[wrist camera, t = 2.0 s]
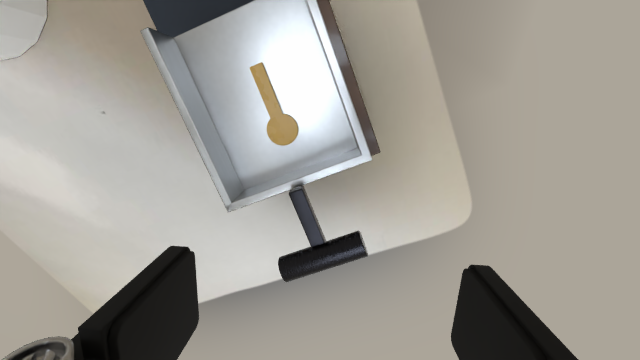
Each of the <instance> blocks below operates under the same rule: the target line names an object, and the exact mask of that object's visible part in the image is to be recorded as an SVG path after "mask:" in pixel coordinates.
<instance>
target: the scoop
mask: <svg viewBox="0 0 640 360" xmlns="http://www.w3.org/2000/svg"><path fill="white" fill-rule="evenodd" d="M141 34H142V36H143V38H144V40H145V42H146V44H147V46H148V48H149V50H150V52H151V54H152V56H153V58H154V60H155V63H156V65H157V67H158V69H159V71H160V73H161V75H162V77H163V79H164V81H165V83H166V85H167V87H168V89H169V91H170V93H171V96H172V98H173V100H174V102H175V104H176V106H177V108H178V110H179V112H180V114H181V116H182V118H183V120H184V122H185V124H186V127H187V129H188V131H189V133H190V135H191V137H192V139H193V141H194V143H195V145H196V147H197V149H198V151H199V153H200V155H201V158H202V160H203V162H204V164H205V166H206V168H207V170H208V172H209V174H210V176H211V178H212V180H213V182H214V184H215V186H216V188H217V191H218V193H219V195H220V197H221V199H222V201H223V203H224V205H225V207H226V209H227V211H228V212H231V211H233V210H236V209H239V208H242V207H244V206H247V205H250V204H253V203H255V202H258V201H261V200H264V199H266V198H269V197H272V196H275V195H277V194H280V193H283V192H286V191H288V190H290V192H289V196H290V198H291V200H292V203H293V205H294V207H295V210H296V212H297V214H298V217H299V219H300V221H301V224H302V226H303V228H304V231H305V233H306V235H307V238H308V240H309V243H310V245H311V247H308V248H305V249H302V250H299V251H296V252H293V253H290V254H287V255H284V256H281V257H280V258H279V260H278V265H279V270H280V274H281V276H282V278H283V280H284V281H285V282H288V281H292V280H295V279H298V278H301V277H304V276H307V275H310V274H314V273H317V272H320V271H323V270H326V269H329V268H332V267H335V266H338V265H342V264H345V263H348V262H351V261H354V260H357V259H360V258H363V257H367V256H368V253H367V250H366V246H365V243H364V241H363V238H362V235H361V233H360V231H356V232H353V233H350V234H347V235H344V236H341V237H338V238H335V239H332V240H329V241H326V240H325V237H324V235H323V232H322V230H321V227H320V225H319V223H318V220H317V218H316V215H315V213H314V210H313V208H312V206H311V203H310V201H309V198H308V196H307V193H306V191H305V189H304V186H302V185H305V184H308V183H310V182H313V181H316V180H319V179H321V178H324V177H327V176H330V175H332V174H335V173H338V172H341V171H343V170H346V169H349V168H352V167H354V166H357V165H360V164H363V163H365V162H368V161H371V160H372V157H371V154H370V151H369V148H368V145H367V142H366V140H365V137H364V134H363V131H362V128H361V125H360V122H359V119H358V117H357V114H356V111H355V108H354V105H353V102H352V99H351V97H350V94H349V91H348V88H347V85H346V82H345V79H344V77H343V74H342V71H341V68H340V65H339V62H338V59H337V57H336V54H335V51H334V48H333V45H332V42H331V39H330V36H329V34H328V31H327V28H326V25H325V22H324V19H323V16H322V14H321V11H320V8H319V5H318V2H317V0H254V1H252V2H250V3H248V4H246V5H243V6H241V7H239V8H237V9H235V10H233V11H230V12H228V13H226V14H224V15H222V16H219V17H217V18H215V19H213V20H211V21H209V22H206V23H204V24H202V25H200V26H198V27H196V28H193V29H191V30H189V31H187V32H185V33H183V34H180V35H178V36H176V37H174V38H173V37H171V36H169V35H166V34H164V33H161V32H158V31H156V30H153V29H151V28H148V27H147V28H145V29H143V30H141ZM261 62H262V63H263V64H264V67H265V69H266V72H267V74H268V77H269V79H270V82H271V84H272V86H273V89H274V91H275V94H276V96H277V99H278V101H279V104H280V106H281V109H282V111H283V114H288V115H290V116H292V117H293V118H294V119H295V120H296V122H297V124H298V135H297V137H296V139H295V140H294V141H293V142H292V143H290V144H288V145H285V146H281V145H277V144H275V143H273V142H272V141H271V140H270V138H269V137H268V135H267V124H268V121H269V120H270V116H269V114H268V111H267V109H266V107H265V104H264V102H263V99H262V97H261V95H260V92H259V90H258V87H257V85H256V83H255V80H254V78H253V75H252V73H251V71H250V67H251V66H254V65H256V64H258V63H261ZM299 186H300V187H299ZM294 188H295V189H294ZM291 189H292V190H291Z"/></svg>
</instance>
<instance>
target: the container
mask: <svg viewBox="0 0 640 360" xmlns="http://www.w3.org/2000/svg"><path fill="white" fill-rule="evenodd" d="M46 19H47V0H0V61H1V60H6V59H11V58H16V57H20V56H21V55H22V54H23V53H24V52H26V51H27V50H28V49H29V48H30V47H32V46H33V45H34V44H35V43H36V42H37V41H38V39H39V36H40V34H41V31H42V29H43V26H44V24H45V21H46Z"/></svg>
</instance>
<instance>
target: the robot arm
mask: <svg viewBox="0 0 640 360" xmlns="http://www.w3.org/2000/svg"><path fill="white" fill-rule="evenodd" d="M198 320H199V311H198V297H197V282H196V267H195V255H194V252H193V251H190V249H189V248H188V247H180V246H170V247H169V248H168V249H166V250H165V251H164V252H163V253H162V254H161V255H160V256H159V257H157V258H156V259H155V260H154V261H153V262H152V263H151V264H149V265H148V266H147V267H146V268H145V269H144V270H143V271H142V272H140V273H139V274H138V275H137V276H136V277H135V278H134V279H133V280H131V281H130V282H129V283H128V284H127V285H126V286H125V287H124V288H122V289H121V290H120V291H119V292H118V293H117V294H116V295H114V296H113V297H112V298H111V299H110V300H109V301H108V302H107V303H105V304H104V305H103V306H102V307H101V308H100V309H99V310H98V311H96V312H95V313H94V314H93V315H92V316H91V317H90V318H89V319H88V320H86V321H85V322H84V323H83V324H82V325H81V326H79V327H78V331H79V333H78V334H77V335H76V336H75V337H74V338H72V339H71V340H70V339H68V338H66V337H59V336H58V337H48V338H44V339H41V340H37V341H34V342H32V343H29V344H27V345H24V346H23V347H21V348H19V349H17V350H15V351H13V352H12V353H10V354H9V355H7V356H6V357H5V358H3V359H2V360H177V359H178V357H179V355H180V354H181V352H182V350H183V349H184V347H185V345H186V344H187V342H188V341H189V339H190V337H191V336H192V334H193V332H194V331H195V329H196V327H197V324H198ZM451 341H452V345H453V347H454V350H455V352H456V354H457V356H458V358H459V360H578V359H577V358H576V357H575V356H574V355H573V354H572V353H571V352H570V351H569V350H568V348H566V346H565V345H564V344H563V343H562V342H561V341H560V340H559V339H558V338H557V337H556V336H555V335H554V334H553V333H552V332H551V331H550V329H549V328H548V327H547V326H546V325H545V324H544V323H543V322H542V321H541V320H540V319H539V318H538V317H537V316H536V315H535V314H534V313H533V311H532V310H531V309H530V308H529V307H528V306H527V305H526V304H525V303H524V302H523V301H522V300H521V299H520V298H519V297H518V296H517V295H516V293H515V292H514V291H513V290H512V289H511V288H510V287H509V286H508V285H507V284H506V283H505V282H504V281H503V280H502V279H501V278H500V276H498V274H497V273H496V272H495V271H494V270H493V269H492V268H491V267H490V266H483V265H470V266H469V267H468V269H464V271H463V273H462V279H461V284H460V290H459V295H458V300H457V306H456V311H455V316H454V322H453V327H452V333H451Z"/></svg>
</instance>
